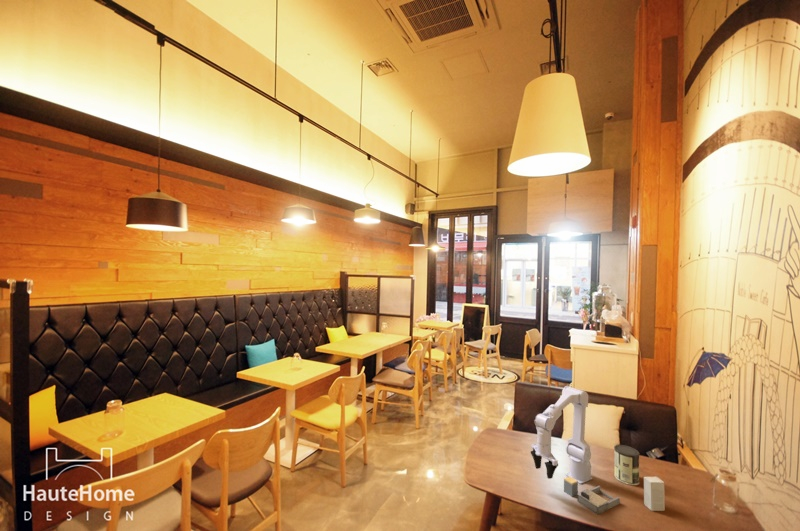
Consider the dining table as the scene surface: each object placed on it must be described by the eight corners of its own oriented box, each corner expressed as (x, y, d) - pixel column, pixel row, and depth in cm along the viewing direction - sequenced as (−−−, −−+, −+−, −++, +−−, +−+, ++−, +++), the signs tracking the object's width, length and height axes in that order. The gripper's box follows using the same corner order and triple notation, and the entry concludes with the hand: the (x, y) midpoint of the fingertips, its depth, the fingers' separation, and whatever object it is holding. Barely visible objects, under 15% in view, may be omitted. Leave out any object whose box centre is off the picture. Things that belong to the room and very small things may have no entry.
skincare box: (656, 504, 145) (656, 476, 145) (665, 511, 140) (664, 482, 141) (643, 504, 144) (643, 476, 145) (651, 511, 140) (651, 482, 140)
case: (599, 491, 152) (599, 485, 152) (619, 503, 144) (619, 497, 144) (577, 501, 145) (577, 495, 145) (597, 514, 137) (597, 508, 137)
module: (569, 489, 154) (569, 476, 154) (577, 494, 150) (577, 480, 150) (563, 491, 152) (564, 478, 152) (572, 496, 148) (572, 483, 148)
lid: (587, 490, 149) (587, 486, 149) (607, 502, 141) (607, 498, 141) (577, 494, 145) (577, 490, 145) (597, 507, 137) (597, 503, 137)
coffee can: (633, 474, 166) (633, 445, 167) (643, 487, 156) (643, 456, 157) (610, 471, 168) (610, 443, 169) (619, 483, 158) (619, 453, 159)
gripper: (526, 435, 155) (525, 465, 155) (548, 451, 141) (548, 484, 141) (538, 434, 157) (538, 463, 157) (561, 449, 143) (561, 481, 143)
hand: (543, 472), depth 149 cm, fingers open, 7 cm apart
